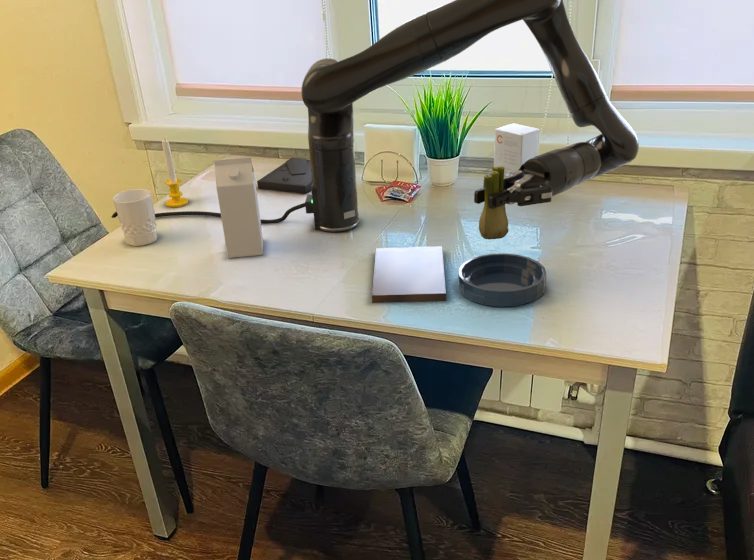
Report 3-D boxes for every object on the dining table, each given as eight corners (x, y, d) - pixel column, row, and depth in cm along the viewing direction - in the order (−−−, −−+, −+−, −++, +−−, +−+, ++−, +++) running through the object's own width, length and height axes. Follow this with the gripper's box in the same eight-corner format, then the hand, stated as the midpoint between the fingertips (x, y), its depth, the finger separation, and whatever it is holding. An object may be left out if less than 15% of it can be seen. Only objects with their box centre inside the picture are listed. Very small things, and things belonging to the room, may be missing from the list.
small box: (537, 185, 181) (541, 128, 174) (518, 192, 178) (522, 135, 171) (510, 177, 187) (513, 122, 179) (492, 184, 183) (494, 128, 176)
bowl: (460, 309, 134) (461, 292, 133) (456, 270, 147) (456, 254, 145) (550, 306, 133) (552, 290, 131) (538, 268, 146) (539, 252, 144)
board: (372, 302, 138) (371, 295, 137) (376, 255, 155) (375, 248, 154) (446, 301, 137) (446, 293, 136) (442, 253, 154) (442, 246, 153)
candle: (192, 201, 187) (180, 135, 178) (177, 208, 183) (164, 142, 174) (176, 198, 189) (164, 133, 180) (161, 205, 186) (148, 139, 177)
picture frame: (292, 165, 204) (257, 188, 191) (291, 157, 203) (256, 179, 190) (338, 169, 199) (306, 193, 186) (337, 161, 198) (305, 184, 185)
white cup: (167, 235, 170) (158, 190, 165) (145, 249, 164) (135, 204, 159) (138, 230, 173) (128, 187, 168) (116, 245, 167) (104, 200, 162)
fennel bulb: (487, 245, 133) (488, 176, 126) (470, 236, 136) (470, 168, 130) (515, 237, 135) (517, 168, 128) (498, 228, 138) (499, 161, 132)
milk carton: (229, 244, 164) (215, 154, 153) (263, 241, 164) (251, 151, 153) (227, 258, 158) (212, 166, 147) (263, 255, 158) (250, 162, 147)
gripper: (522, 144, 141) (453, 168, 132) (586, 161, 131) (516, 188, 123) (520, 184, 145) (452, 210, 136) (581, 203, 136) (513, 233, 127)
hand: (483, 200), depth 130 cm, fingers closed on fennel bulb, 2 cm apart
